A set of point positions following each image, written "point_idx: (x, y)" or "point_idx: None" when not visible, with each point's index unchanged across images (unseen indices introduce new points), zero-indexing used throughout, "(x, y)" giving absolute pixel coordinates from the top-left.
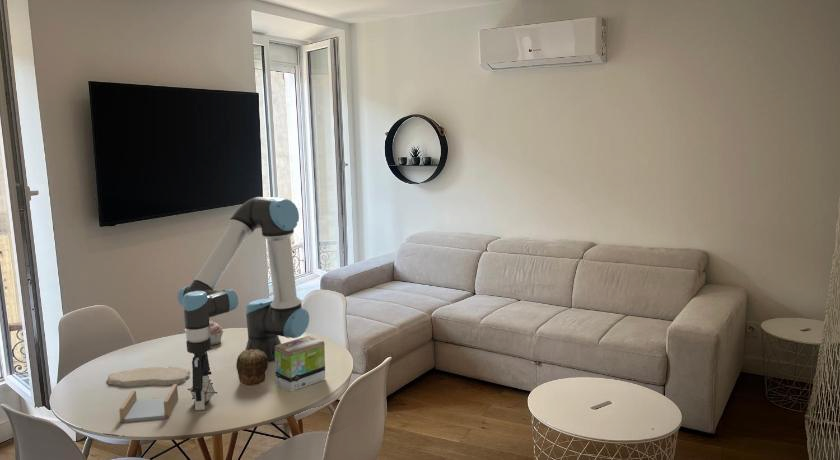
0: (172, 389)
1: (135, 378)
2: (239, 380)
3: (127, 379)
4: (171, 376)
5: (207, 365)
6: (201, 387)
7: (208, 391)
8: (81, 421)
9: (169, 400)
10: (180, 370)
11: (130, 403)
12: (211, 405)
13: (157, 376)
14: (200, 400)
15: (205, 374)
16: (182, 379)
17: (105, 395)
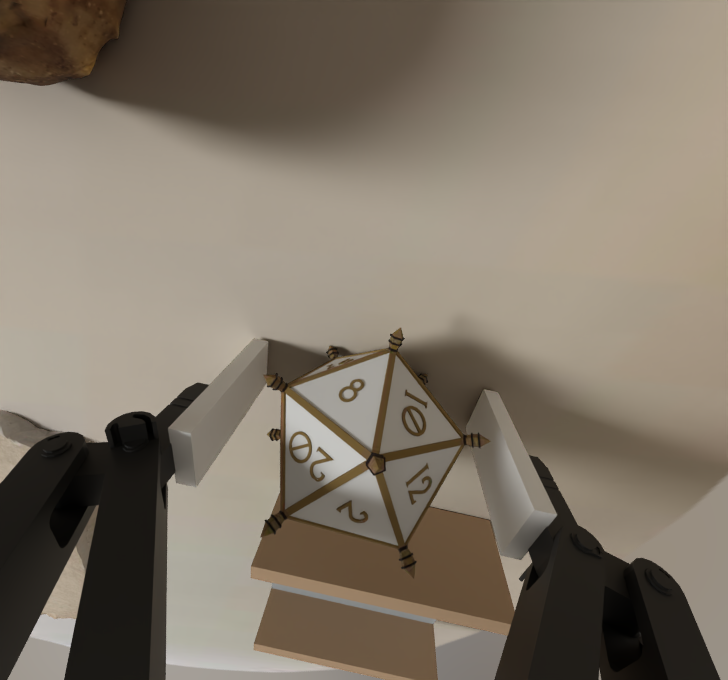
0: (333, 590)
1: (67, 580)
2: (46, 83)
3: (79, 595)
4: None
5: (33, 533)
6: (603, 570)
7: (439, 419)
8: None
9: (469, 599)
10: None
11: (345, 634)
12: (446, 347)
13: None
14: (540, 464)
15: (163, 465)
16: None
17: (185, 615)
